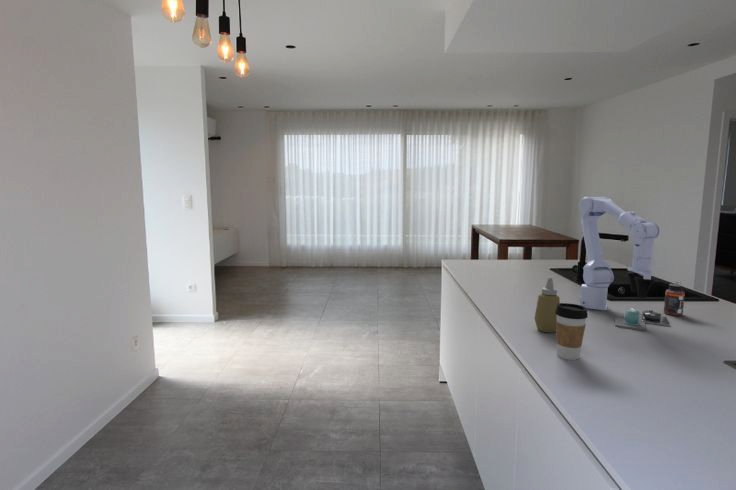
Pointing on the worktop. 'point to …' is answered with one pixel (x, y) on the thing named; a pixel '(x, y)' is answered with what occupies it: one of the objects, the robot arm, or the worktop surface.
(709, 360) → the worktop surface
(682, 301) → the supplement bottle
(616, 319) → the pad
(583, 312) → the coffee cup
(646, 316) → the rotary selector switch
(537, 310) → the squeeze bottle
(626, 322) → the cap
